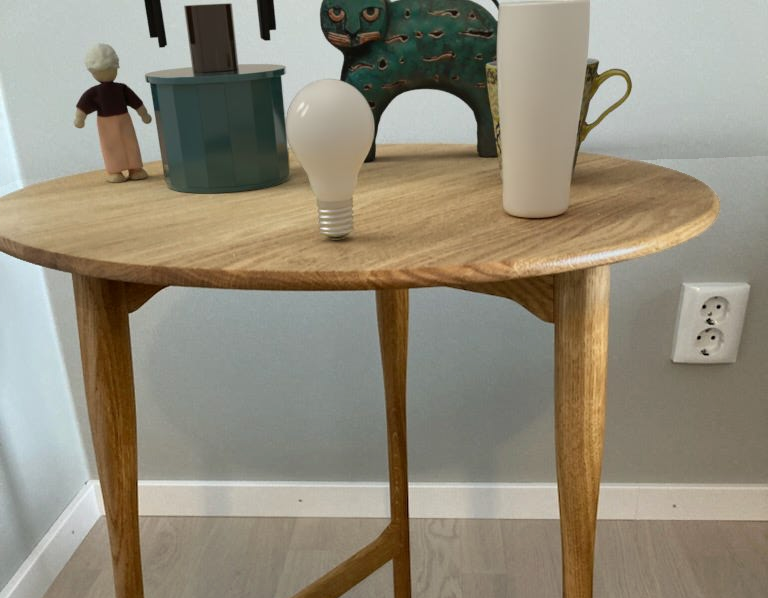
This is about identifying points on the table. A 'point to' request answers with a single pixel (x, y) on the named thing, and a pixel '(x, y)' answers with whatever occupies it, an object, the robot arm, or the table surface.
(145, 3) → the robot arm
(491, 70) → the ceramic cup
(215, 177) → the tin
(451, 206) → the table surface
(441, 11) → the ceramic cat
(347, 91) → the lightbulb
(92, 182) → the table surface
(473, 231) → the table surface
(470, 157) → the table surface
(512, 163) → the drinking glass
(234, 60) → the lid
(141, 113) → the grandmother figurine
